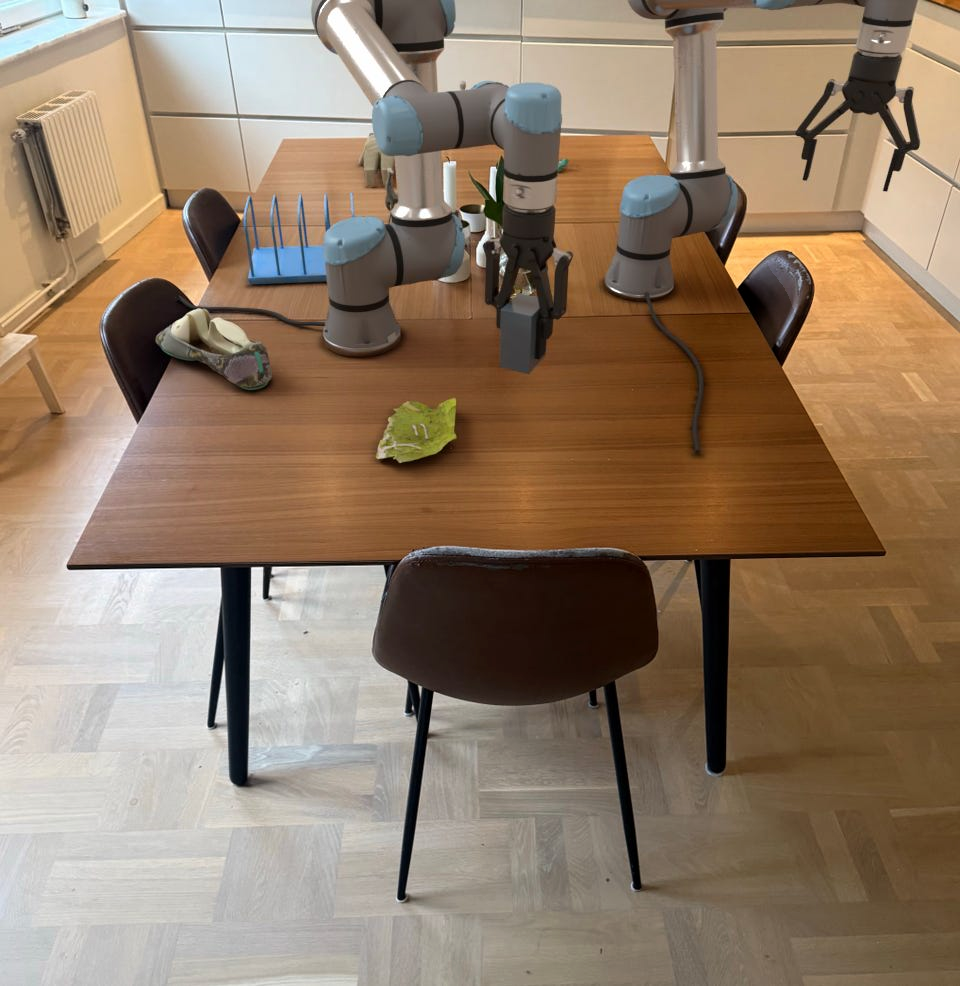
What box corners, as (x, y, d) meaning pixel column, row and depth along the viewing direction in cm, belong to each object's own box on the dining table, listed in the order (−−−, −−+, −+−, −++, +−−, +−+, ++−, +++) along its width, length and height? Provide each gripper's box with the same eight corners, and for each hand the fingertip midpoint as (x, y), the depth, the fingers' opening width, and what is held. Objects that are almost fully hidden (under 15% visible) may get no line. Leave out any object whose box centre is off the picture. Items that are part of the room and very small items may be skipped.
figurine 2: (428, 222, 226) (426, 163, 217) (426, 232, 221) (424, 171, 212) (386, 222, 226) (383, 162, 217) (383, 231, 221) (379, 171, 212)
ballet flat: (186, 330, 177) (176, 284, 171) (293, 374, 163) (286, 324, 157) (142, 351, 170) (129, 303, 164) (249, 398, 156) (240, 348, 150)
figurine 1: (408, 193, 250) (411, 152, 272) (406, 161, 244) (410, 123, 266) (351, 193, 249) (359, 153, 271) (348, 162, 243) (356, 123, 265)
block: (516, 349, 142) (518, 292, 136) (545, 356, 140) (548, 299, 134) (499, 367, 137) (500, 309, 131) (529, 374, 135) (531, 316, 129)
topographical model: (451, 471, 138) (449, 459, 136) (372, 473, 140) (370, 460, 138) (466, 405, 153) (464, 393, 152) (395, 407, 155) (392, 395, 154)
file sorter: (249, 286, 194) (237, 218, 185) (254, 255, 208) (244, 191, 199) (362, 280, 197) (356, 213, 188) (360, 251, 211) (355, 187, 201)
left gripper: (460, 202, 124) (461, 349, 138) (580, 223, 118) (568, 374, 132) (483, 187, 129) (481, 329, 143) (599, 206, 123) (585, 353, 137)
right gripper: (796, 49, 144) (770, 180, 157) (961, 64, 136) (919, 200, 149) (803, 41, 149) (777, 168, 162) (962, 55, 141) (921, 187, 154)
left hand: (523, 351), depth 138 cm, fingers closed on block, 5 cm apart
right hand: (844, 183), depth 155 cm, fingers open, 13 cm apart
